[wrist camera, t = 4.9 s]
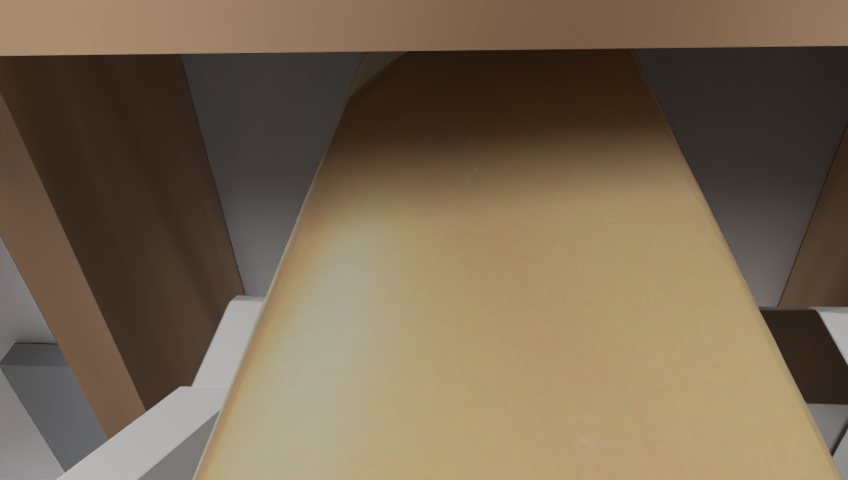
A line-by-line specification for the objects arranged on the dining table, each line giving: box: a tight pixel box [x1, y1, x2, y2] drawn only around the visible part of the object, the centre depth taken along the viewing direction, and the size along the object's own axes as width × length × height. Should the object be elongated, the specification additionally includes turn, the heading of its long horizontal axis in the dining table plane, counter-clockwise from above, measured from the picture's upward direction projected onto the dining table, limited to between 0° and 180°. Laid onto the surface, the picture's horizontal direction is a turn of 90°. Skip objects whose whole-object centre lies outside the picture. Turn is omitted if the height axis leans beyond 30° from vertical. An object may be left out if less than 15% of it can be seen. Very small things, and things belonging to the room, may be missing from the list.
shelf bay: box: [0, 0, 848, 440], centre depth 10 cm, size 15×11×8 cm
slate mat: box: [0, 343, 108, 472], centre depth 21 cm, size 9×9×1 cm
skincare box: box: [192, 48, 843, 480], centre depth 9 cm, size 6×4×12 cm
